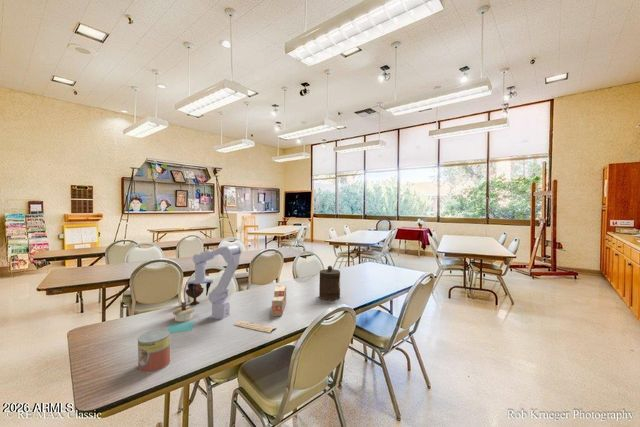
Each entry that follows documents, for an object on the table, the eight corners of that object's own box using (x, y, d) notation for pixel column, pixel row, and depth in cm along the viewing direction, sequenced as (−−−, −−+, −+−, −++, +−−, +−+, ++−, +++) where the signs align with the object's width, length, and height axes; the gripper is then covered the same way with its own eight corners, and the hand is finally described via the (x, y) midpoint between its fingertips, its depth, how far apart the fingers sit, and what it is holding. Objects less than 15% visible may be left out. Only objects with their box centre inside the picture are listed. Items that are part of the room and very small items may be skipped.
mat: (194, 322, 158) (194, 321, 158) (191, 331, 146) (191, 330, 146) (170, 325, 154) (170, 324, 154) (165, 334, 143) (165, 333, 143)
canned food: (131, 369, 113) (130, 339, 112) (156, 355, 123) (156, 328, 123) (152, 375, 109) (151, 344, 108) (176, 360, 119) (176, 332, 119)
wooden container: (344, 297, 201) (344, 266, 200) (327, 301, 193) (327, 269, 192) (331, 292, 213) (331, 263, 213) (315, 295, 205) (315, 265, 204)
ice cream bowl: (197, 307, 182) (197, 283, 182) (182, 305, 184) (181, 282, 184) (207, 301, 192) (206, 279, 192) (192, 300, 195) (192, 278, 194)
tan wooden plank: (233, 326, 154) (233, 323, 154) (242, 321, 160) (242, 318, 160) (269, 334, 144) (269, 331, 144) (277, 329, 151) (277, 325, 151)
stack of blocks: (282, 316, 167) (282, 295, 167) (271, 316, 167) (271, 295, 167) (286, 303, 188) (286, 285, 188) (276, 303, 188) (276, 285, 188)
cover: (198, 309, 166) (198, 300, 166) (184, 316, 155) (184, 307, 155) (182, 307, 169) (182, 299, 169) (168, 314, 158) (168, 305, 158)
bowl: (195, 316, 166) (195, 309, 166) (185, 323, 157) (185, 315, 157) (182, 315, 168) (182, 308, 168) (171, 321, 159) (171, 313, 159)
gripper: (213, 271, 178) (213, 292, 178) (188, 272, 174) (188, 294, 174) (212, 273, 171) (212, 296, 172) (186, 275, 167) (186, 298, 167)
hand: (200, 295), depth 172 cm, fingers open, 7 cm apart
